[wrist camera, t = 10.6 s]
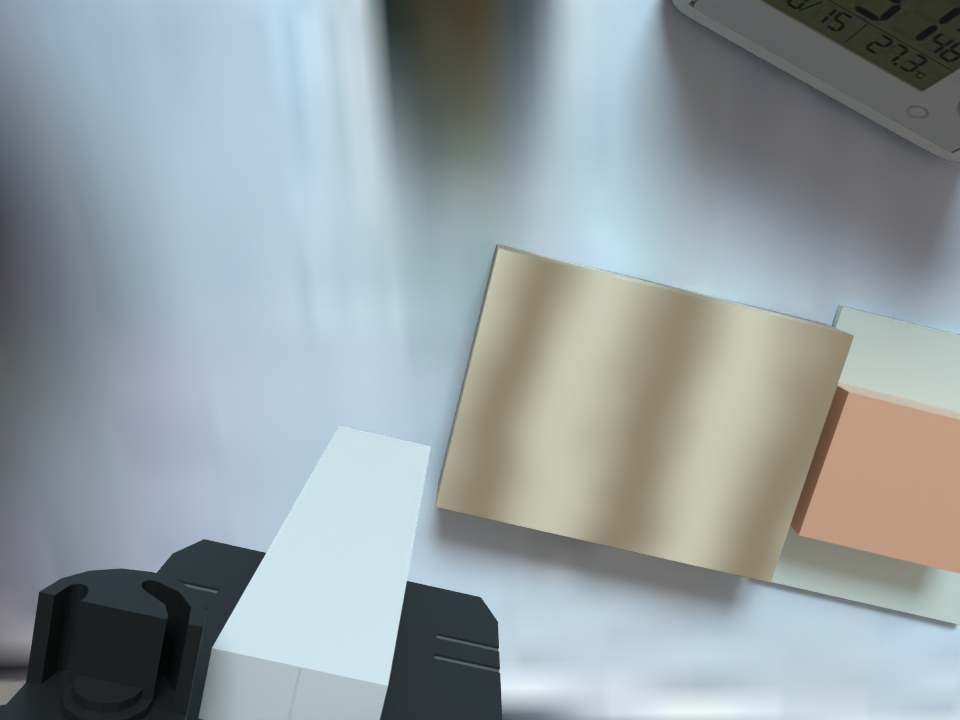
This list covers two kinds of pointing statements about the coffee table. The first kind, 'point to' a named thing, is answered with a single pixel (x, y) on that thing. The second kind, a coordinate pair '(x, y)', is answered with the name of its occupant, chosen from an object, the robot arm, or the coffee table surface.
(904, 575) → the sage mat
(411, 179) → the coffee table surface
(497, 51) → the coffee table surface
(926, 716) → the coffee table surface
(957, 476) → the terracotta tile
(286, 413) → the coffee table surface
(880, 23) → the digital clock
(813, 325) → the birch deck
